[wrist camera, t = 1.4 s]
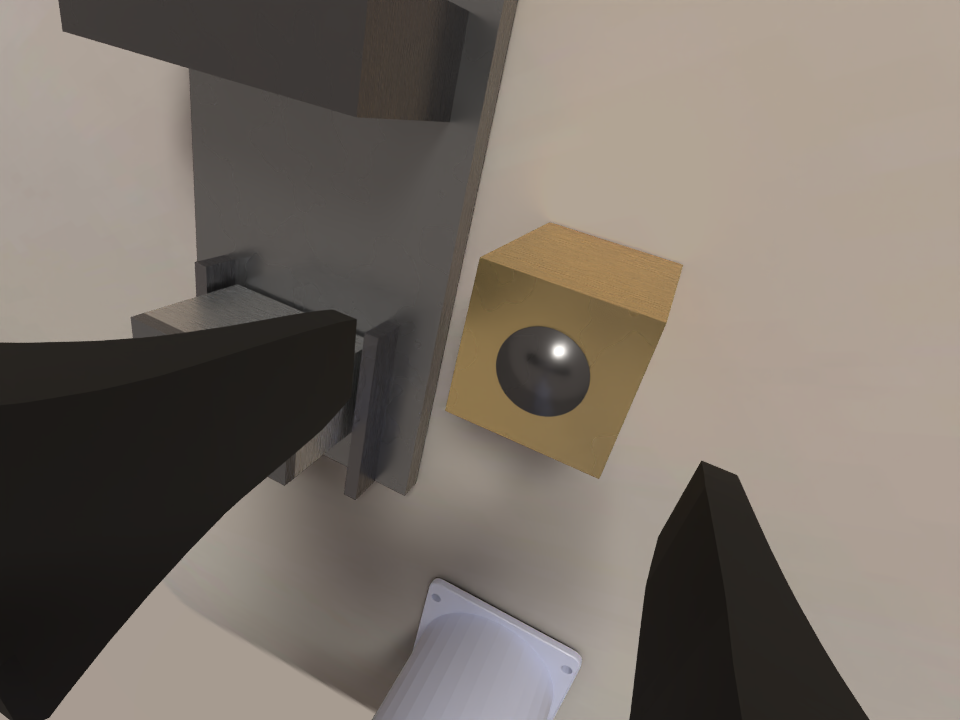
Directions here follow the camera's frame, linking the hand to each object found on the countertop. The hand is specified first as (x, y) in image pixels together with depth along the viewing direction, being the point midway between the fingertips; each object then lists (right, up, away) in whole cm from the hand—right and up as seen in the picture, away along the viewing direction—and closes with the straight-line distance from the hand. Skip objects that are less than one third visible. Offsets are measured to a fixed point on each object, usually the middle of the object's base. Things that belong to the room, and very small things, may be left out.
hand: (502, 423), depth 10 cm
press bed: (-7, +6, +11) cm, 14 cm away
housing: (+3, +3, +8) cm, 9 cm away
